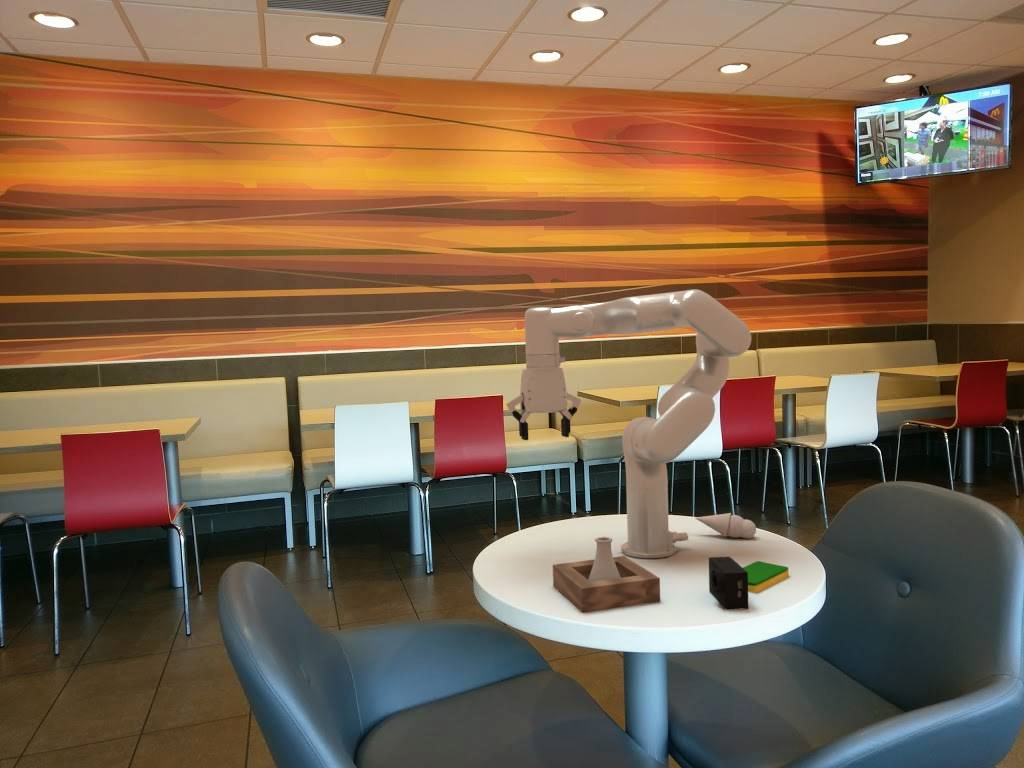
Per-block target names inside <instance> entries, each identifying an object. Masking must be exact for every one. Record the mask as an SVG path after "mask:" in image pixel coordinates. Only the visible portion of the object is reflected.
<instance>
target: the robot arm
mask: <svg viewBox="0 0 1024 768" xmlns="http://www.w3.org/2000/svg"><path fill="white" fill-rule="evenodd" d="M683 328H692V329H693V330H694V331H696V335H695V346H696V358H695V361H694V363H693V365H692V366H691V367H690V368H689V369H688V370H687V371H686V372H685V373H684V374H683V375H682V376H681V378H679V379H678V380H677V381H676V382H675V383H674V384H673V385H672V386H671V387H670V388H669V389H667V391H665V392H664V393H663V394H662V396H661V398H660V399H659V400H658V404H657V411H658V414H659V417H658V418H652V417H649V416H640V417H636V418H634V419H631V420H630V421H629V422H628V423H627V424H626V426H625V428H624V430H623V431H622V437H621V440H622V441H621V442H622V450H623V456H624V457H623V458H624V463H625V477H626V478H625V479H626V480H625V481H626V484H625V487H626V521H627V523H626V525H627V526H626V527H627V542H624V543H623V544H621V546H620V547H621V549H620V551H621V553H623V554H624V555H626V556H629V557H632V558H641V559H659V558H661V559H662V558H666V557H667V558H668V557H670V556H672V555H674V554H675V553H676V552H677V548H676V545H675V544H676V543H677V542H684V541H685V542H686V541H688V539H689V535H688V533H687V532H685V531H684V532H679V533H678V532H677V531H670V530H669V528H670V527H669V494H668V493H669V492H668V491H669V490H668V489H669V487H668V486H669V481H668V469H667V463H670V462H672V461H674V460H675V459H677V458H678V457H679V456H680V455H682V453H684V452H685V450H687V448H689V446H691V445H692V444H693V443H694V442H695V441H696V440H697V439H698V438H699V437H700V436H701V435H702V434H703V433H704V432H705V431H706V430H707V428H709V426H710V425H711V423H712V422H713V419H714V417H715V413H716V404H715V401H714V399H713V398H714V397H715V396H716V395H717V394H718V393H719V392H720V390H721V389H722V388H723V387H724V386H725V384H726V382H727V380H728V376H729V371H730V358H735V357H739V356H741V355H743V354H744V353H746V352H747V351H748V350H749V348H750V346H751V343H752V333H751V330H750V328H749V326H748V325H747V324H746V323H745V321H743V320H742V319H741V318H739V316H737V315H736V314H734V313H733V312H732V311H730V310H729V309H728V308H727V307H726V306H724V305H723V304H722V303H721V302H719V301H718V300H717V299H715V298H714V297H713V296H711V295H710V294H708V293H707V292H705V291H703V290H701V289H694V288H693V289H687V290H681V291H672V292H664V293H663V292H662V293H653V294H646V295H636V296H629V297H628V296H627V297H623V298H618V299H615V300H610V301H606V302H599V303H590V304H583V305H580V304H579V305H577V304H576V305H568V306H564V307H556V308H555V307H549V306H545V307H544V306H543V307H542V306H541V307H540V306H539V307H530V308H528V309H526V311H525V312H524V335H525V336H524V338H525V361H526V362H525V366H526V368H525V369H524V368H523V369H522V371H521V372H522V373H521V376H520V377H521V379H520V393H519V395H518V396H517V397H515V398H513V399H512V400H510V401H508V402H507V403H506V408H508V411H509V412H510V414H511V416H512V417H513V418H514V419H516V421H517V422H518V434H519V437H521V440H523V441H528V440H529V423H528V422H527V420H528V418H529V417H530V415H531V414H547V413H548V414H549V413H558V414H560V415H561V417H562V418H561V419H560V432H561V434H560V435H561V437H564V438H569V437H570V433H571V420H572V418H573V416H574V415H575V414H576V413H577V412H578V409H579V406H580V404H581V403H582V401H581V400H582V399H580V398H578V397H577V396H574V395H573V394H570V393H568V392H567V386H566V385H567V384H566V379H565V378H566V377H565V373H564V369H563V368H562V367H561V364H562V363H565V362H566V357H565V356H563V355H562V356H561V353H560V338H561V339H564V340H565V339H566V340H580V339H583V338H586V337H592V336H594V337H595V336H602V335H634V334H636V335H637V334H643V333H651V332H658V331H666V330H667V331H668V330H674V329H675V330H676V329H683ZM568 401H570V402H571V403H572V404H571V407H570V408H569V409H567V407H568ZM518 404H519V407H520V408H519V409H520V410H521V412H520V413H519V412H518V410H517V409H516V406H517V405H518Z"/></svg>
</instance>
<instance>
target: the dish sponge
mask: <svg viewBox="0 0 1024 768" xmlns="http://www.w3.org/2000/svg"><path fill="white" fill-rule="evenodd" d="M742 568H743V569H744V570H745V571H746V572H748V593H752V594H757V593H760V592H762V591H763V590H765V589H767V588H770V587H771V586H773V585H775V584H777V583H779V582H781V581H783V580H785V579H787V578H789V577H788V576H790V575H789V566H785V565H780V564H775V563H770V562H764V561H759V560H757V561H755V562H752V563H750V564H748V565H746V566H744V567H742ZM786 577H787V578H786ZM784 578H785V579H784ZM782 579H783V580H782Z"/></svg>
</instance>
